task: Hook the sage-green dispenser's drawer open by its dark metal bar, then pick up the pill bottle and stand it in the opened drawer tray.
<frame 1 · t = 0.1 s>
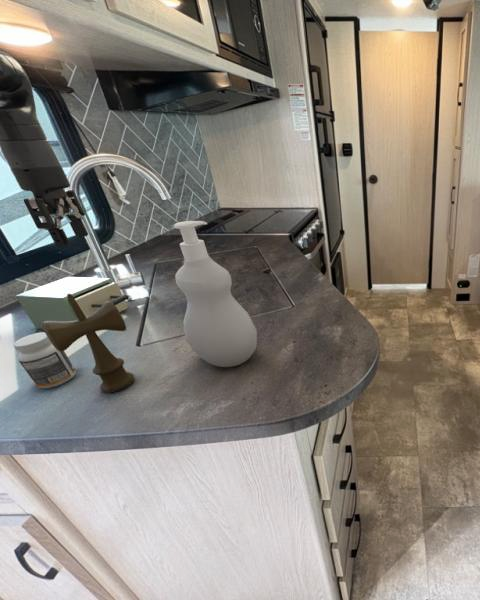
hand: (73, 240, 72), 22 cm above the countertop, tool pointing down, fingers open, 8 cm apart
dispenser: (82, 318, 86), on the countertop
pill bottle: (58, 380, 63), on the countertop
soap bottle: (229, 357, 69), on the countertop
kendama: (119, 386, 61), on the countertop
drawer: (90, 303, 83), point 5 cm above the countertop, slide at 1.0 cm
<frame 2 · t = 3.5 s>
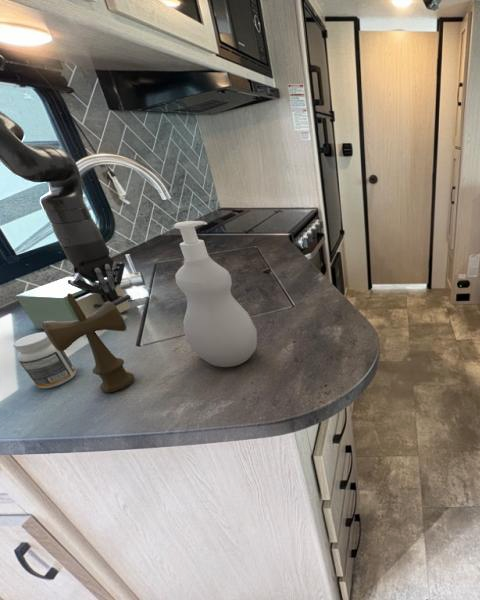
hand: (113, 304, 82), 5 cm above the countertop, tool pointing down, fingers closed
drawer: (93, 303, 83), point 5 cm above the countertop, slide at 1.6 cm
everything else where it was.
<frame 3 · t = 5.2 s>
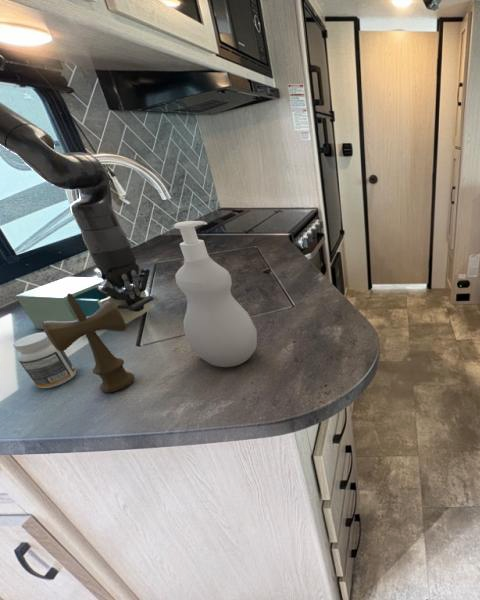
hand: (138, 310, 82), 4 cm above the countertop, tool pointing down, fingers closed
drawer: (115, 305, 82), point 5 cm above the countertop, slide at 8.5 cm
everything else where it was.
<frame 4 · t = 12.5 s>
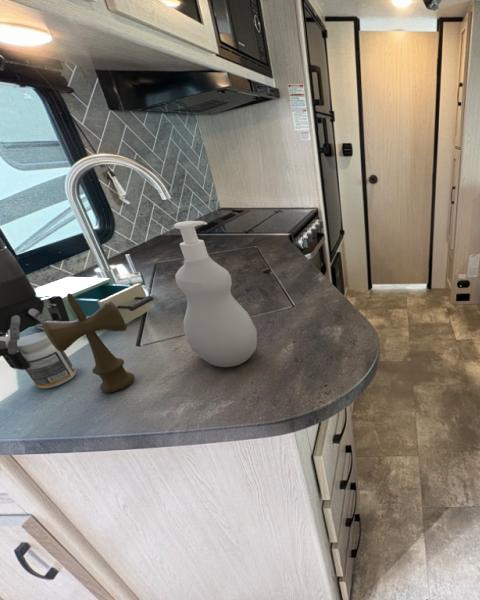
hand: (43, 357, 61), 6 cm above the countertop, tool pointing down, fingers closed on pill bottle, 5 cm apart
pill bottle: (58, 380, 63), on the countertop, touching gripper
everything else where it was.
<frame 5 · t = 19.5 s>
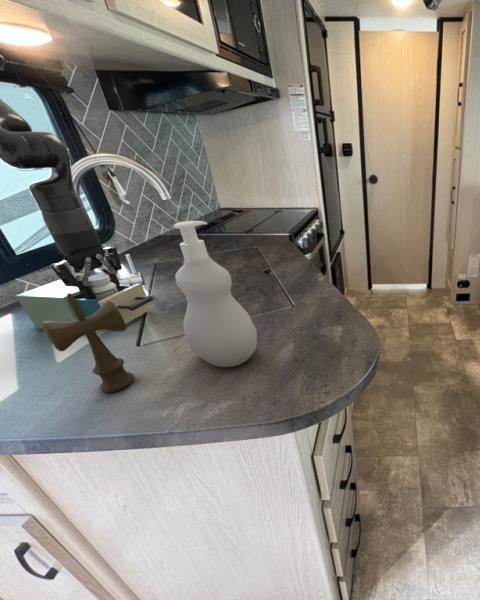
hand: (104, 293, 81), 8 cm above the countertop, tool pointing down, fingers closed on pill bottle, 5 cm apart
pill bottle: (113, 312, 83), point 2 cm above the countertop, touching gripper
drawer: (115, 305, 82), point 5 cm above the countertop, slide at 8.5 cm, touching gripper
everything else where it was.
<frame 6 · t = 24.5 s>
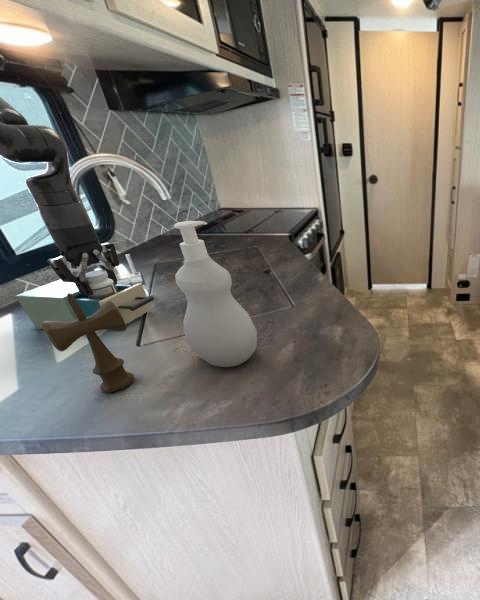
hand: (101, 289, 80), 9 cm above the countertop, tool pointing down, fingers closed on pill bottle, 5 cm apart
pill bottle: (111, 309, 82), point 4 cm above the countertop, touching gripper
drawer: (116, 305, 82), point 5 cm above the countertop, slide at 8.7 cm
everything else where it was.
when the fingers open (9 cm above the countertop, at t = 28.8 s): pill bottle drops 2 cm, resting on drawer.
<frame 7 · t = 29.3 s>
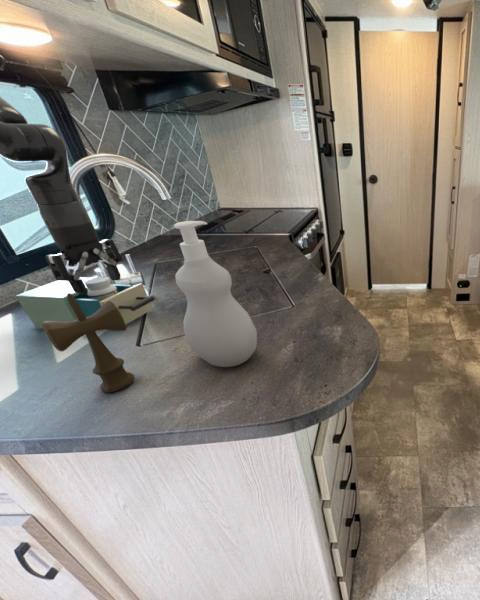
hand: (100, 286, 80), 10 cm above the countertop, tool pointing down, fingers open, 8 cm apart
pill bottle: (114, 314, 83), point 2 cm above the countertop, touching drawer
drawer: (116, 305, 82), point 5 cm above the countertop, slide at 8.9 cm, touching pill bottle
everything else where it was.
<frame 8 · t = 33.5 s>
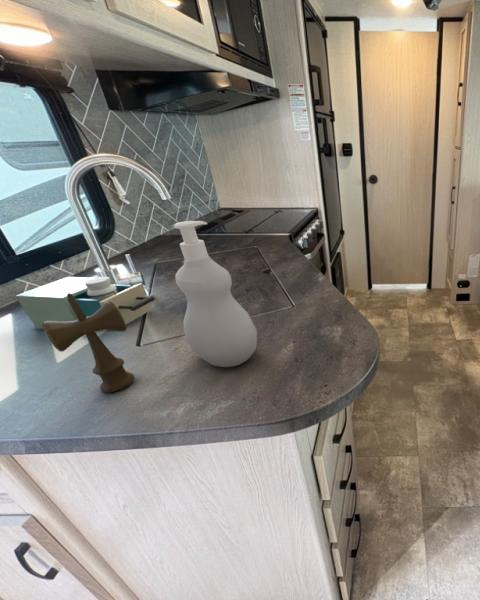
nothing on the countertop moved.
at the end: drawer slide at 8.9 cm; pill bottle inside the target area in the drawer (0.2 cm from its centre), point 1.8 cm above the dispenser's base; pill bottle tilted 0° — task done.
